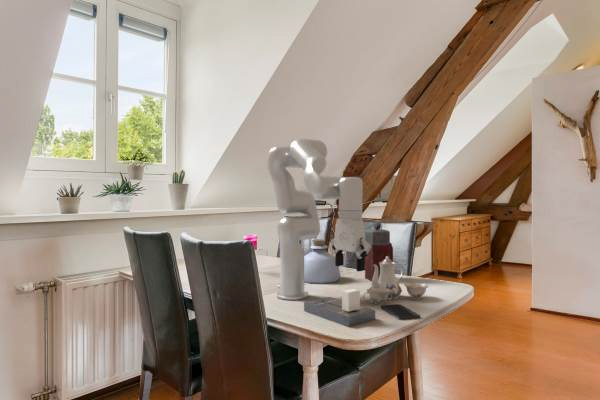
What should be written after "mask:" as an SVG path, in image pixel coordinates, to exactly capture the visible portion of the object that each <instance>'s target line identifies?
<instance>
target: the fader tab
mask: <svg viewBox="0 0 600 400" xmlns="http://www.w3.org/2000/svg"><path fill="white" fill-rule="evenodd" d="M360 291H361V290H359V289H356V288H351V289H350V288H349V289H344V290H341V300H342V310H345V311H348V312H349V311H353V310H357V309H360V306H361V300H360V298H361V294H360V293H361V292H360Z"/></svg>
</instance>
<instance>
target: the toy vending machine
mask: <svg viewBox="0 0 600 400" xmlns="http://www.w3.org/2000/svg"><path fill="white" fill-rule="evenodd" d="M381 222H382V221H381V220H379V219H376V220H375V219H374V220H373V222H372V225H373V229H369V228H368V229H364V231H365V241H366V242H367V243H368V244H370V245H371V249H370V251H369V254H368V255H367V258H365V270H364V279H365V278H366V280H367V279H368V280H367V281H369V280H370V281H369V282H371V281H372V278H373V275H374V271H375V267H374V265H373V264H376V265H377V266H378V271H379V272H378V279H379V276H380V264H379V262H383V260H384V259H386V256H388V257H389V259H390V260H391V261H392V262H394V247H393V244H392V242H391V237H390V236H391V232H390V230H387V229H381V227H382V223H381Z"/></svg>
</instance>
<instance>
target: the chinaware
mask: <svg viewBox="0 0 600 400" xmlns="http://www.w3.org/2000/svg"><path fill="white" fill-rule="evenodd" d="M379 264H380V276H379V279H378V272H379V271H378V266H377V265H376V264H373V265H374V267H375V271H374V275H373V278H372V282H371V287H369V288H367V289H366V291H365V292H364V293H363V295H362V296H363V299H364V300H365V301H368V302H369V301H370V303H374V305H379V306H383V305H384V302H386V301H387V300H388V301H392V300H391V299H394V300H398V299H399V296H400V295H401V293H402V292H403V290H402V287H401V286H400V284H401V278H402V277H403V276H404V267H403V266H402V265H401V264H399V263H396V262H394V261H393V262H392V261H391V260H390V259H389V257H388V256H386V259H384V260H383V262H379ZM397 266H399V267H400V271H401V273H400V275H399V277H398V278H397V277H396V274H395V270H396V269H397ZM404 286H405V288H406V291H407V293H408V295H409V296H410V297H411V298H412V297H413V298H415V299H414V300H420V299H419V298H422V297H423V295H425V293H426V291H427V289H428V288H429V286H428V285H426V283H424V282H423V283H416V282H409V283H404ZM365 295H369V299H366V298H365ZM397 298H398V299H397Z"/></svg>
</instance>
